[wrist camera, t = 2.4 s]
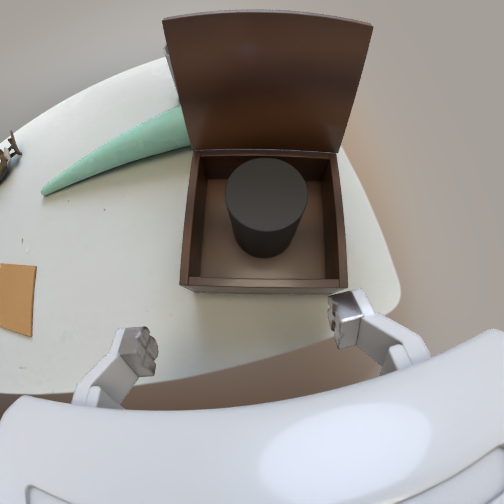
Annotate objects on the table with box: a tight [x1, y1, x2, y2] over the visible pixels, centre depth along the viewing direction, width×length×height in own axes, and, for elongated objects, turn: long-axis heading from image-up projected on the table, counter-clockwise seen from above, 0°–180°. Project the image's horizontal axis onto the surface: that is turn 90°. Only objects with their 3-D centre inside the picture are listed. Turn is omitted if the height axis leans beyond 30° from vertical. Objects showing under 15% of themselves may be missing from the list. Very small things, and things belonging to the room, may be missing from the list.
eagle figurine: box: [0, 131, 22, 181], centre depth 32 cm, size 8×7×9 cm
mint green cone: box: [41, 105, 190, 195], centre depth 30 cm, size 5×6×27 cm
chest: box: [179, 149, 348, 294], centre depth 27 cm, size 14×15×6 cm
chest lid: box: [162, 10, 373, 153], centre depth 19 cm, size 14×15×1 cm
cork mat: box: [0, 263, 37, 337], centre depth 29 cm, size 10×10×1 cm
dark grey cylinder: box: [225, 158, 308, 258], centre depth 25 cm, size 6×6×9 cm
